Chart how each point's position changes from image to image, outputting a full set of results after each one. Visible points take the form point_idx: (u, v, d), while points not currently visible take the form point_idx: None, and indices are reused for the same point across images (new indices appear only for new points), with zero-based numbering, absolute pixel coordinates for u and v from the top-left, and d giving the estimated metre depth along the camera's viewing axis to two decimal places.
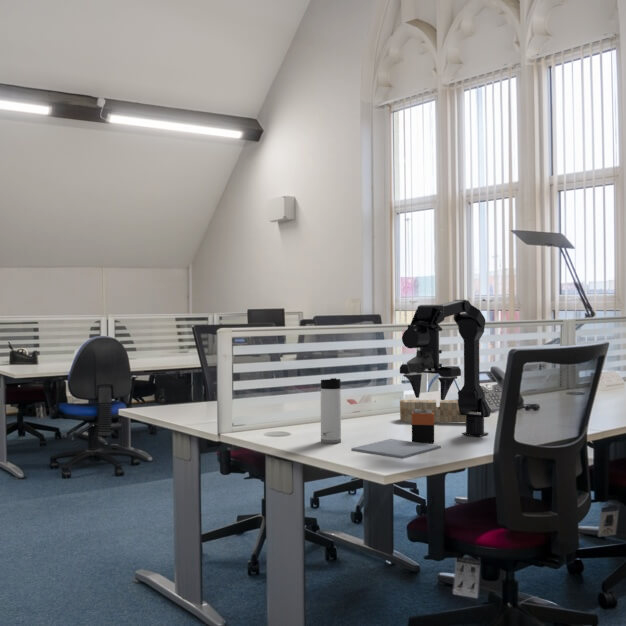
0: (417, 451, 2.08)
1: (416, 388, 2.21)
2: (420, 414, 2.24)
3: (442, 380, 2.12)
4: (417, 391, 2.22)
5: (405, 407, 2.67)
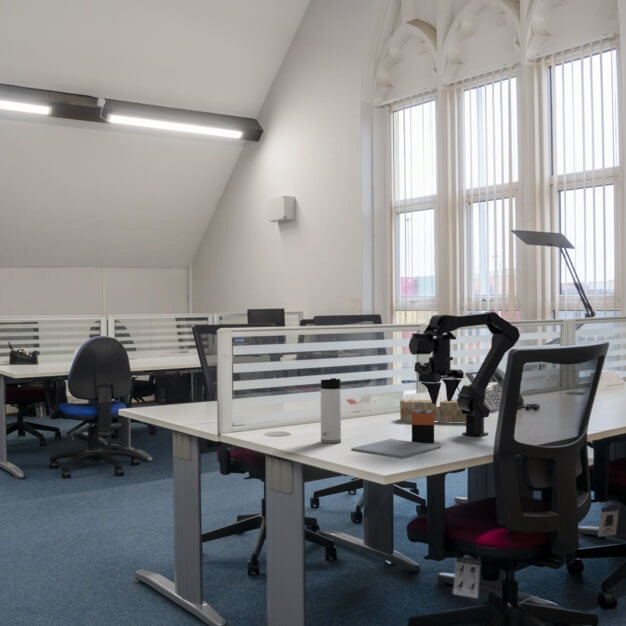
0: (417, 451, 2.08)
1: (447, 392, 2.38)
2: (420, 414, 2.24)
3: None
4: (448, 395, 2.38)
5: (405, 407, 2.67)
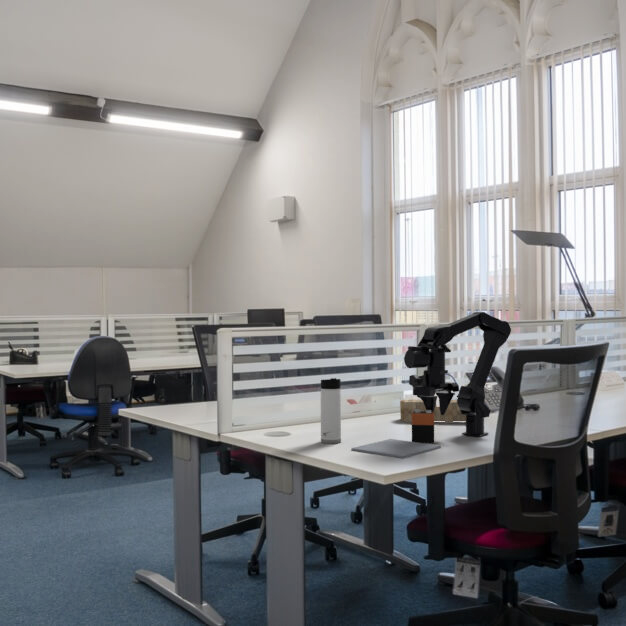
0: (417, 451, 2.08)
1: (441, 405, 2.35)
2: (420, 414, 2.24)
3: None
4: (442, 409, 2.34)
5: (405, 407, 2.67)
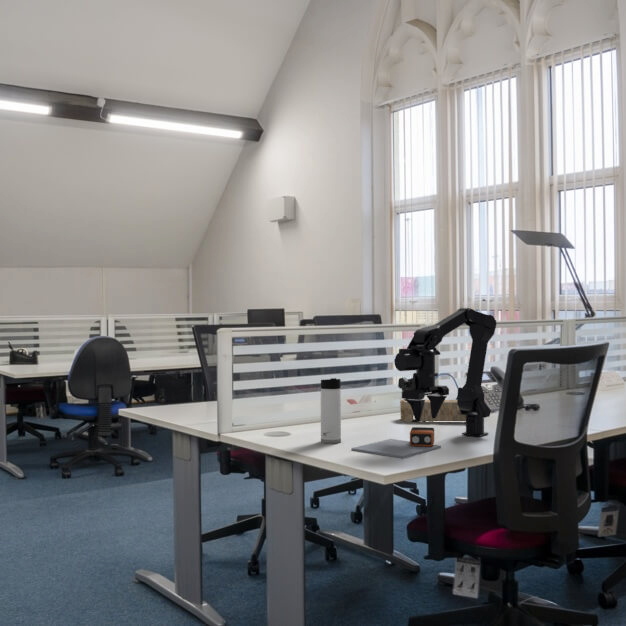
0: (417, 451, 2.08)
1: (432, 409, 2.31)
2: None
3: None
4: (433, 412, 2.31)
5: (406, 407, 2.67)
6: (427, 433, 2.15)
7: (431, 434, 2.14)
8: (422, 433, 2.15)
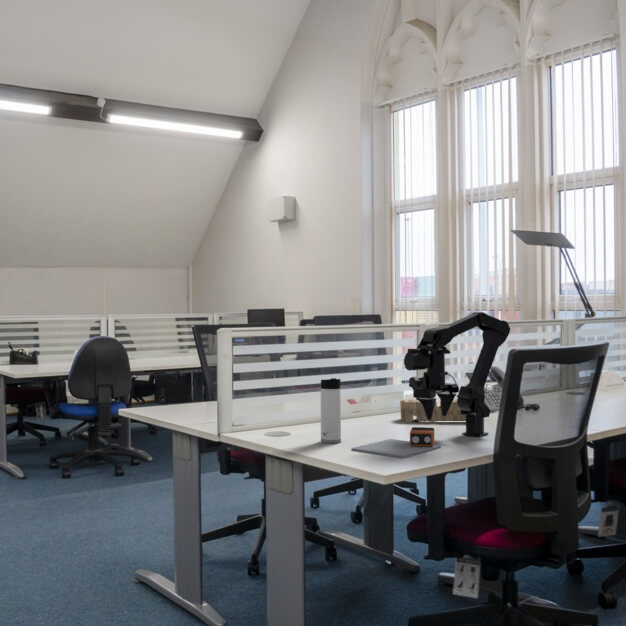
0: (417, 451, 2.08)
1: (442, 406, 2.36)
2: None
3: None
4: (444, 410, 2.35)
5: (406, 407, 2.67)
6: (427, 433, 2.15)
7: (431, 434, 2.14)
8: (422, 433, 2.15)
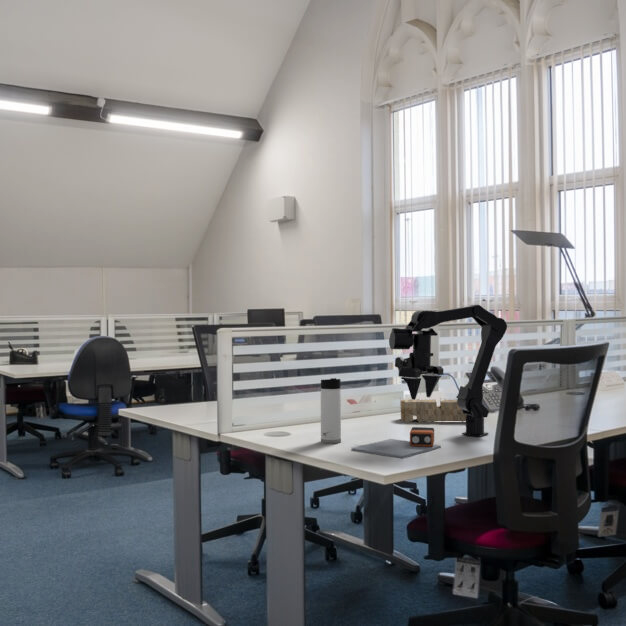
0: (417, 451, 2.08)
1: (427, 388, 2.39)
2: None
3: None
4: (428, 391, 2.38)
5: (406, 407, 2.67)
6: (427, 433, 2.15)
7: (431, 434, 2.14)
8: (422, 433, 2.15)
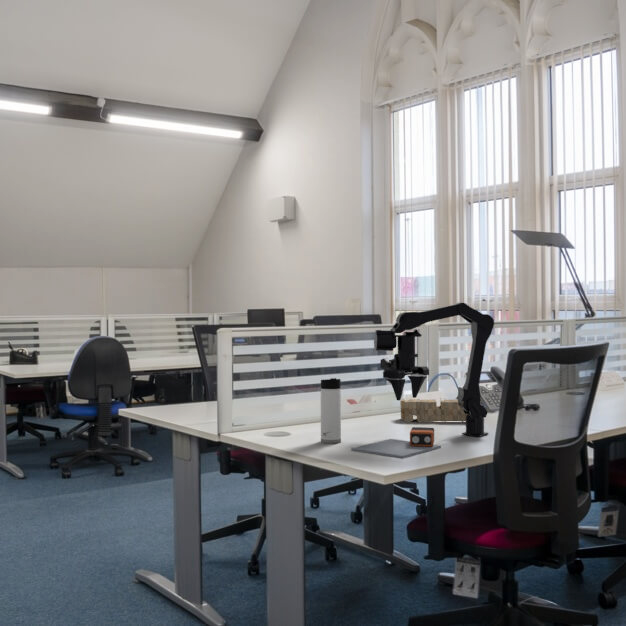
0: (417, 451, 2.08)
1: (413, 388, 2.41)
2: None
3: None
4: (414, 392, 2.40)
5: (406, 407, 2.68)
6: (427, 433, 2.15)
7: (431, 434, 2.14)
8: (422, 433, 2.15)
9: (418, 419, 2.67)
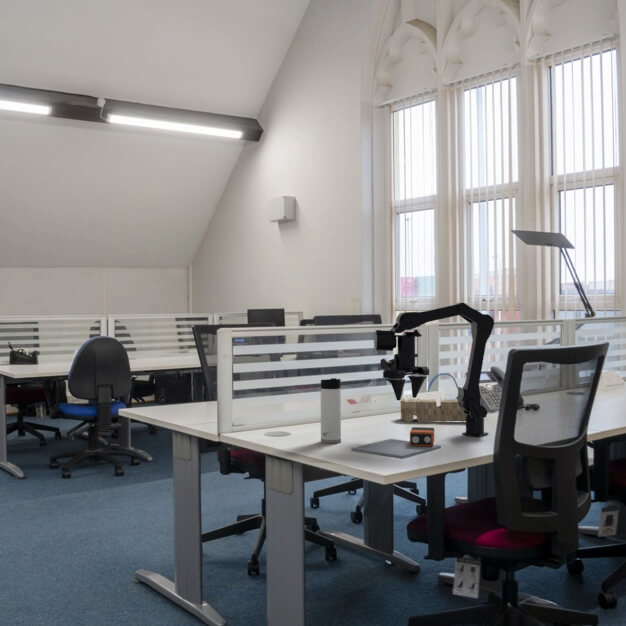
0: (417, 451, 2.08)
1: (413, 388, 2.41)
2: None
3: None
4: (414, 392, 2.40)
5: (406, 407, 2.68)
6: (427, 433, 2.15)
7: (431, 434, 2.14)
8: (422, 433, 2.15)
9: (418, 419, 2.67)
